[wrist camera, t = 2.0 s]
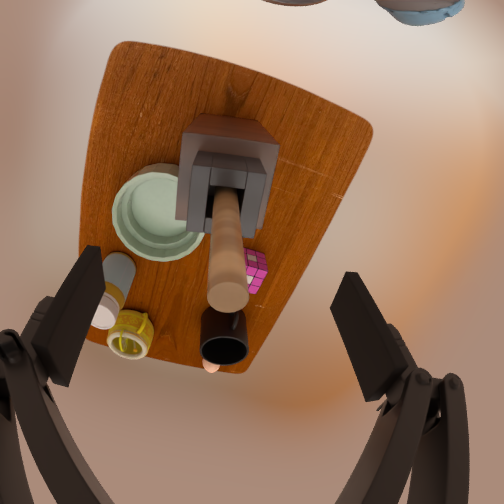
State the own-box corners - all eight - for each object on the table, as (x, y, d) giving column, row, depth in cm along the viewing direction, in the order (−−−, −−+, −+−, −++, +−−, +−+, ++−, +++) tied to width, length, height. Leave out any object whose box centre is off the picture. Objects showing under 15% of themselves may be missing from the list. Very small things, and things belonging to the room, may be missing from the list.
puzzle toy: (253, 276, 58) (255, 294, 54) (226, 268, 57) (226, 287, 52) (264, 253, 56) (268, 271, 51) (236, 245, 54) (238, 262, 49)
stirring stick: (216, 173, 26) (208, 279, 13) (237, 175, 27) (252, 283, 13) (213, 192, 27) (205, 311, 14) (234, 195, 28) (245, 314, 14)
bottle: (143, 264, 55) (124, 318, 42) (125, 283, 57) (106, 336, 44) (116, 243, 52) (89, 294, 39) (100, 264, 54) (74, 315, 41)
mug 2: (258, 301, 62) (263, 334, 54) (235, 337, 68) (237, 369, 60) (214, 288, 59) (213, 322, 51) (195, 327, 65) (193, 359, 57)
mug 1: (141, 342, 67) (133, 381, 57) (105, 321, 63) (92, 359, 52) (169, 318, 63) (162, 360, 53) (129, 293, 58) (116, 334, 48)
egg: (203, 358, 72) (202, 376, 67) (202, 348, 70) (202, 366, 65) (219, 359, 73) (220, 376, 68) (220, 349, 70) (220, 366, 66)
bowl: (123, 159, 43) (111, 169, 38) (213, 166, 46) (212, 177, 41) (124, 238, 51) (115, 256, 46) (204, 247, 54) (202, 265, 49)
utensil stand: (200, 113, 41) (173, 142, 20) (257, 120, 42) (291, 158, 21) (193, 166, 45) (166, 245, 24) (247, 172, 47) (268, 256, 26)
